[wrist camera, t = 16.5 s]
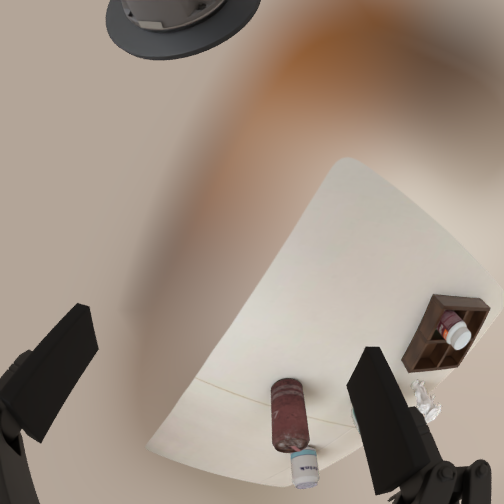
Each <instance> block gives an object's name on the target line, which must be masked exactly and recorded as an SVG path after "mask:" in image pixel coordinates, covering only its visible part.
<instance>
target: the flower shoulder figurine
mask: <svg viewBox="0 0 504 504" xmlns="http://www.w3.org/2000/svg"><path fill="white" fill-rule="evenodd" d="M424 384H425V381H422V382H420V383H419V380H416V381H414V382H413V383H412V385H411V388H412V389H413V390H415V392H414V393H415V397H416V399H417V406H419V407H418V408H417V406H416V408H417V409H418V410H419V411H420V412H421V413H424V415H425V421H427V422H426V423H428V422H431V421H433V420H434V419H435V418H436V417H437V415H438V414H439V413H440V412H441V409H440V407H441V405H440V406H438V405H437V406H436V404H435V405H434V404H433V401H434V398H435V395H434V394H433V395H432V396H430V398H429V397H428V393H427V391H426V388H425V387H424ZM438 404H440V403H438Z"/></svg>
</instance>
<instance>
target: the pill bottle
mask: <svg viewBox="0 0 504 504" xmlns="http://www.w3.org/2000/svg"><path fill="white" fill-rule="evenodd" d="M436 329H437V330H438V331H439V333H440V334H441V335H442V336H443V338H444V339H445V341H446V342H447V343H448V344H451V345H452V346H453V348H454V349H455V350H460V349H462V348H463V347H464V346H466V344H467V343H468V342H469V340H470V338H471V332H470V331H469V330H468V328H467V326H466V323H465V322H464V321H463V320H462V319H461V318H460V317H459V316H458V315H457V314H456V313H455V312H454V311H453V310H445V311H444V313H443V315H442V317H441V319H440V321H439V323H438V325H437V327H436Z"/></svg>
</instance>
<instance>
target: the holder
mask: <svg viewBox="0 0 504 504" xmlns="http://www.w3.org/2000/svg"><path fill="white" fill-rule="evenodd" d="M445 310H453V311H454V312H455V313H456V314H457V315H458V316H459V317H460V318H461V319H462V320H463V321H464V322H465V323H466V326H467V328H468V330H469V331H470V332H471V338H470V340H469V342H468V343H467V344H466V346H464V347H463V348H462V349H460V350H455V349H454V348H453V346H452V345H451V344H448V343H447V342H446V341H445V339H444V338H443V336H442V335H441V334H440V333H439V331H438V330H437V329H436V327H437V325H438V323H439V321H440V319H441V317H442V315H443V313H444V311H445ZM489 311H490V307H489V306H488V305H487V304H486V303H485V302H484V301H483V300H481V299H479V298H467V297H456V296H445V295H434V294H433V296H432V298H431V301H430V303H429V305H428V308H427V310H426V312H425V314H424V316H423V319H422V321H421V323H420V325H419V327H418V329H417V331H416V333H415V335H414V337H413V339H412V341H411V343H410V345H409V347H408V349H407V351H406V352H405V354H404V356H403V358H402V362H403V364H404V365H405V367H406V369H407V371H408V373H412V372H424V371H433V370H442V369H449V368H456V367H458V366H459V365H460V363H461V362H462V360H463V359H464V357H465V355H466V354H467V352H468V350H469V349H470V347H471V345H472V343H473V342H474V340H475V338H476V336H477V334H478V332H479V331H480V329H481V327H482V325H483V323H484V321H485V319H486V317H487V315H488V313H489Z"/></svg>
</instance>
